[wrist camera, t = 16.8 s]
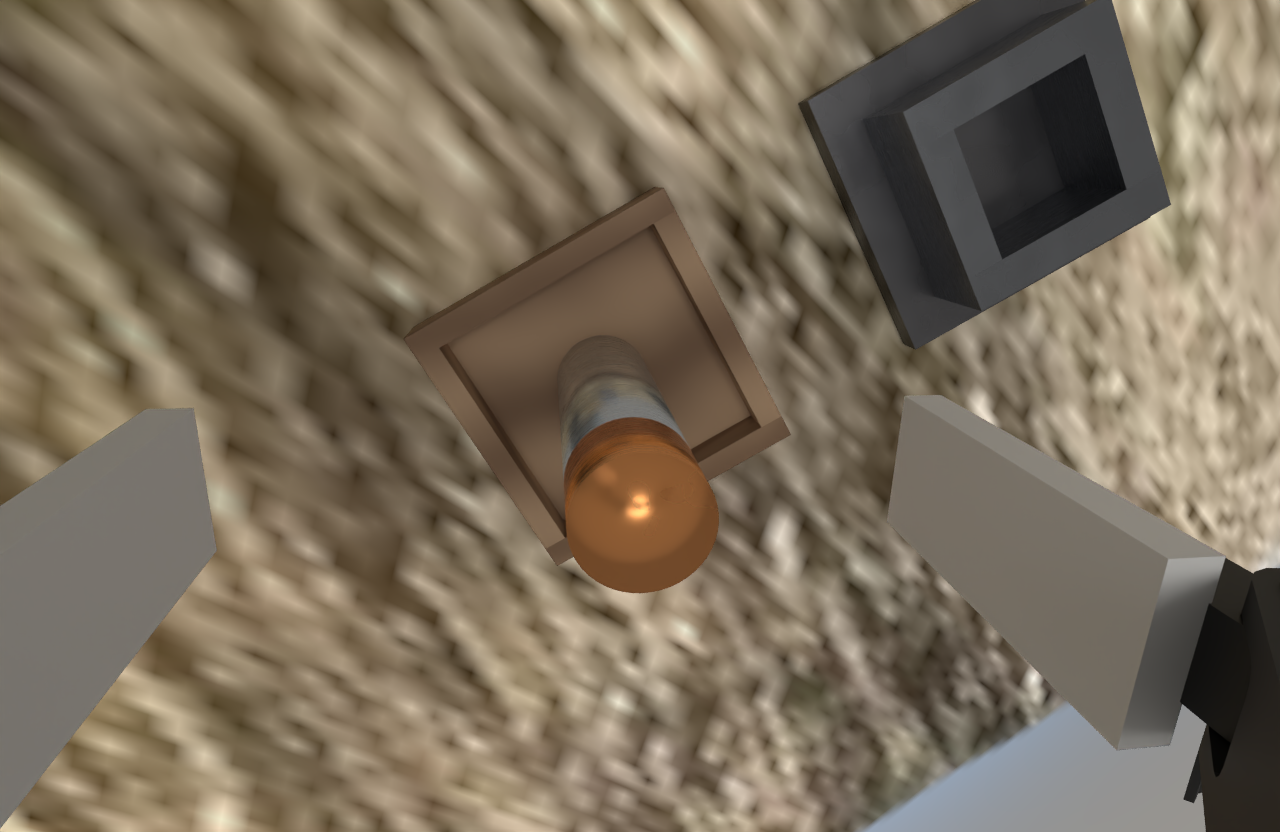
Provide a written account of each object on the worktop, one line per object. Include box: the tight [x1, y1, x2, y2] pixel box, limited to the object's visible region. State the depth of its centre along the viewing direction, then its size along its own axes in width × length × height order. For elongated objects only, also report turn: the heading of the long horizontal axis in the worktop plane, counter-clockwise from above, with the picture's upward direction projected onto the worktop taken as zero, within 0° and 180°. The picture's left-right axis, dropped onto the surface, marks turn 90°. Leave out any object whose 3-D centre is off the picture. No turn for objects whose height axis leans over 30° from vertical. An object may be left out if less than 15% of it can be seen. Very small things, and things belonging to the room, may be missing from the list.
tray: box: [404, 187, 791, 566], centre depth 34 cm, size 12×12×3 cm
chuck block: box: [798, 0, 1171, 349], centre depth 32 cm, size 12×12×5 cm
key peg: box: [558, 335, 719, 593], centre depth 27 cm, size 4×4×15 cm
